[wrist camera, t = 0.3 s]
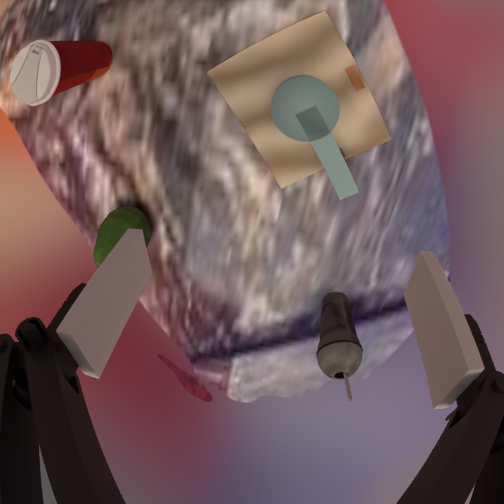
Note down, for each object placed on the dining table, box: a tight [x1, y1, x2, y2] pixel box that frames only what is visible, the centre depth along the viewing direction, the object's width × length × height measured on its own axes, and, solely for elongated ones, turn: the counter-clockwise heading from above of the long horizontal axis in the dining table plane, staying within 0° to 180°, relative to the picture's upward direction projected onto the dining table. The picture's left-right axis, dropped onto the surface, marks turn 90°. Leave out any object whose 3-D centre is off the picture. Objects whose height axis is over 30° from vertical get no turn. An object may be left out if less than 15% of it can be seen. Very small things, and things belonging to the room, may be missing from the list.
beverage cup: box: [316, 292, 363, 401], centre depth 46 cm, size 7×7×20 cm
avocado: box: [93, 206, 150, 268], centre depth 43 cm, size 8×8×12 cm
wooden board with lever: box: [207, 11, 391, 189], centre depth 33 cm, size 18×16×4 cm
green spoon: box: [271, 75, 359, 200], centre depth 31 cm, size 14×7×3 cm, turn 31°
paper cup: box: [10, 40, 112, 106], centre depth 27 cm, size 8×8×14 cm
